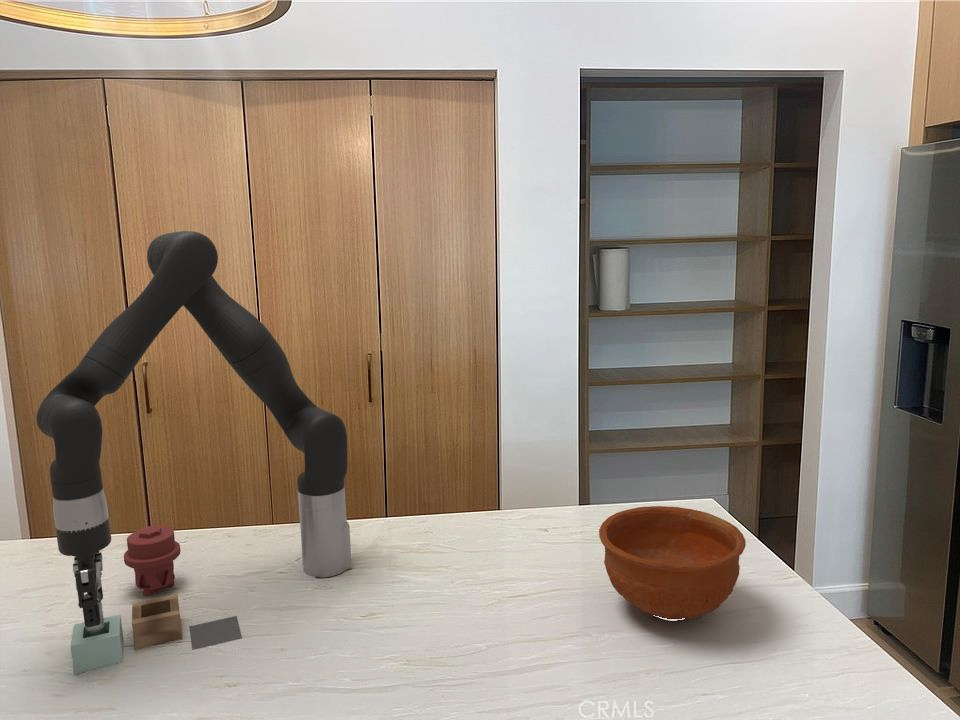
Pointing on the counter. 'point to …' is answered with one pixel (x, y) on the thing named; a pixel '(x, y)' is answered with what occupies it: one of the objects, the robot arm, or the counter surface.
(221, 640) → the mat
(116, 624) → the teal block
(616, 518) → the bowl
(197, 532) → the counter surface
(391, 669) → the counter surface
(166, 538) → the mechanical component
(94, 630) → the cylinder
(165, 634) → the wooden square frame
